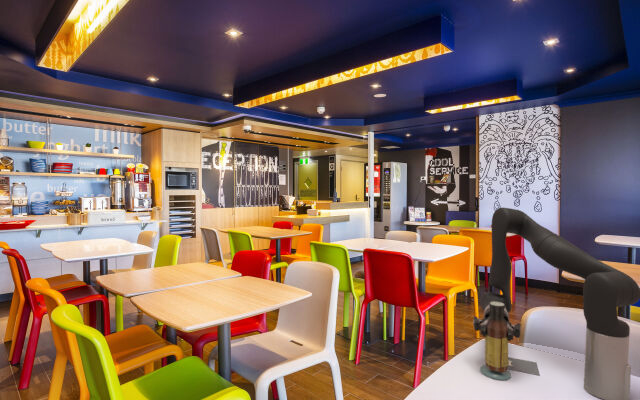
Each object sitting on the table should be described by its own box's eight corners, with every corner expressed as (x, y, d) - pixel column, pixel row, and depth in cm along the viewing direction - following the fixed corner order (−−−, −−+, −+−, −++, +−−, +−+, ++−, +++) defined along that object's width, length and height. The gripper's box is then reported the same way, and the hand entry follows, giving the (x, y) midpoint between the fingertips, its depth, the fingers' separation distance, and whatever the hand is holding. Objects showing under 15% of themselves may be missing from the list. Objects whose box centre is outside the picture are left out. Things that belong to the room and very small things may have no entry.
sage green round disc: (510, 370, 111) (510, 368, 111) (511, 383, 104) (512, 381, 104) (480, 363, 115) (480, 362, 115) (479, 376, 107) (479, 374, 107)
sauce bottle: (502, 363, 112) (505, 300, 111) (511, 374, 106) (514, 307, 105) (480, 362, 113) (483, 299, 112) (488, 372, 107) (491, 306, 106)
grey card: (536, 362, 116) (536, 362, 116) (539, 375, 108) (539, 375, 108) (488, 353, 122) (488, 353, 122) (488, 365, 114) (488, 364, 114)
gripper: (473, 302, 125) (470, 319, 110) (521, 309, 119) (525, 327, 103) (472, 324, 125) (470, 343, 110) (520, 332, 119) (524, 353, 104)
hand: (496, 335), depth 107 cm, fingers closed on sauce bottle, 6 cm apart
